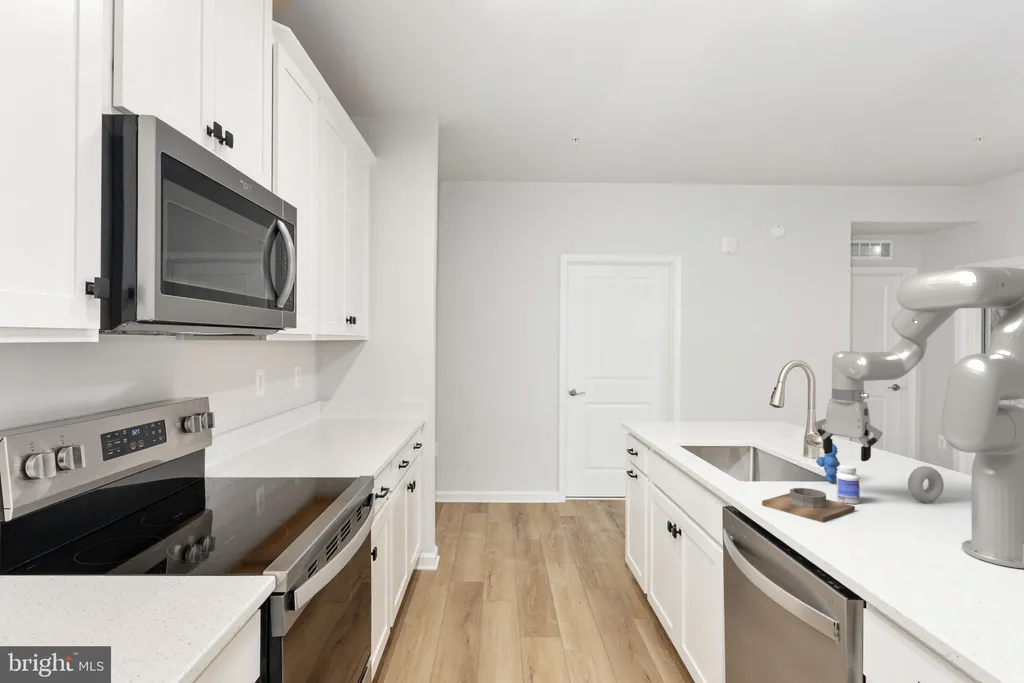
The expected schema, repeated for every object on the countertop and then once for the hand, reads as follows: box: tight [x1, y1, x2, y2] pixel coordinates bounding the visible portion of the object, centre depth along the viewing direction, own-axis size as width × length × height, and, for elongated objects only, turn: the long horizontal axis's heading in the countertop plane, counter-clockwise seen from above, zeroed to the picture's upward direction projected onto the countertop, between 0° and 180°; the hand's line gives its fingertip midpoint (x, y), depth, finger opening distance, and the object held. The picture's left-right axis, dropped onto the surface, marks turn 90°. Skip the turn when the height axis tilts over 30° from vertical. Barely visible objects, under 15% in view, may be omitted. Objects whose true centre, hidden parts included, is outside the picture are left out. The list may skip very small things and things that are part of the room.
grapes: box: [815, 442, 841, 484], centre depth 168 cm, size 12×7×12 cm, turn 147°
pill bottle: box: [836, 464, 861, 505], centre depth 147 cm, size 5×5×10 cm
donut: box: [907, 465, 945, 503], centre depth 146 cm, size 10×4×10 cm, turn 99°
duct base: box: [761, 487, 856, 523], centre depth 142 cm, size 16×16×4 cm
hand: (846, 456), depth 148 cm, fingers open, 9 cm apart
